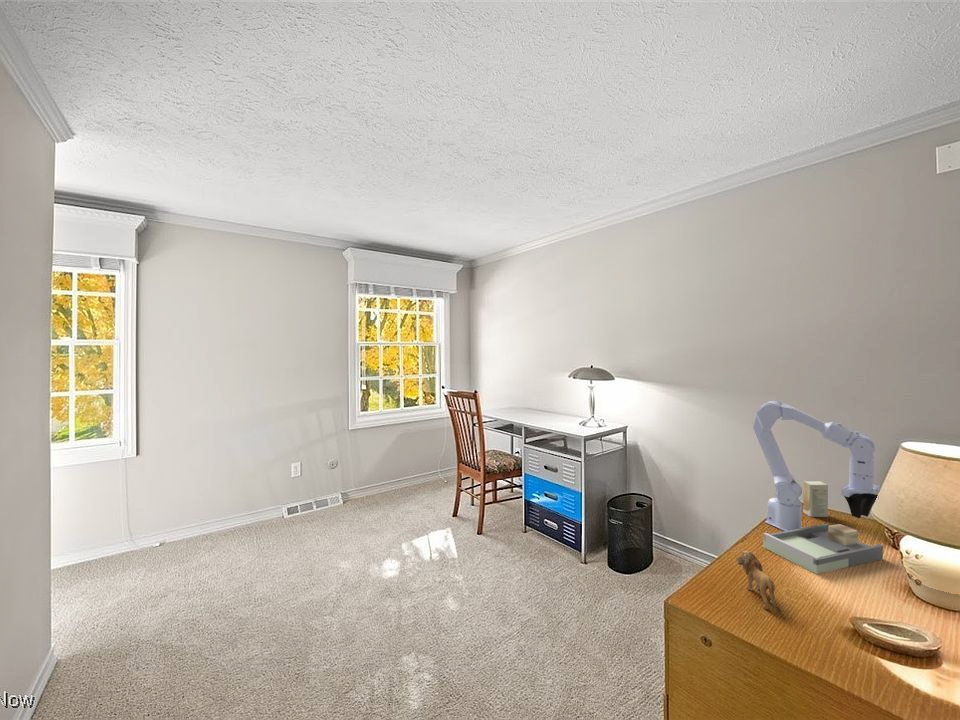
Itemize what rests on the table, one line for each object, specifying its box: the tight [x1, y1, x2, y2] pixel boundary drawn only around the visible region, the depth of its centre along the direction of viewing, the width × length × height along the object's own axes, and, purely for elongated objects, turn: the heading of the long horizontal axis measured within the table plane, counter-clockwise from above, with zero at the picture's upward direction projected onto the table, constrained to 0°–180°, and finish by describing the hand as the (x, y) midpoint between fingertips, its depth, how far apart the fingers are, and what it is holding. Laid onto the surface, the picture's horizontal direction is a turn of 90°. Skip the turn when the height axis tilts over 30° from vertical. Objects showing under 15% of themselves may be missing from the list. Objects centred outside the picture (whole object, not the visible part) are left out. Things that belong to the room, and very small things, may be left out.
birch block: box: [828, 523, 858, 546], centre depth 131 cm, size 5×5×4 cm
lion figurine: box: [734, 550, 782, 614], centre depth 107 cm, size 15×5×9 cm, turn 1°
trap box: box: [762, 523, 884, 575], centre depth 129 cm, size 16×27×4 cm, turn 107°
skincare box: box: [802, 480, 829, 518], centre depth 157 cm, size 6×4×12 cm
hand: (859, 516), depth 133 cm, fingers open, 3 cm apart
